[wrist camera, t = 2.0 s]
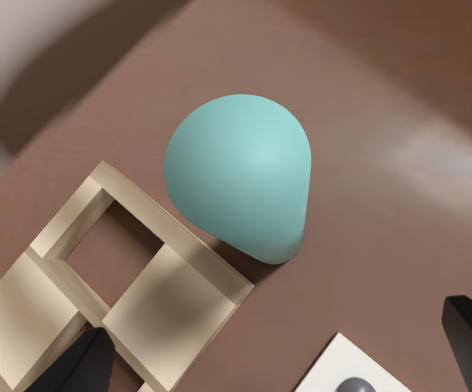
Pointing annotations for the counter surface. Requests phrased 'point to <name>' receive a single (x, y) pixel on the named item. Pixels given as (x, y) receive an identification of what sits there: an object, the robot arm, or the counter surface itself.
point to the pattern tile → (347, 371)
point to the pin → (242, 175)
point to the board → (128, 306)
